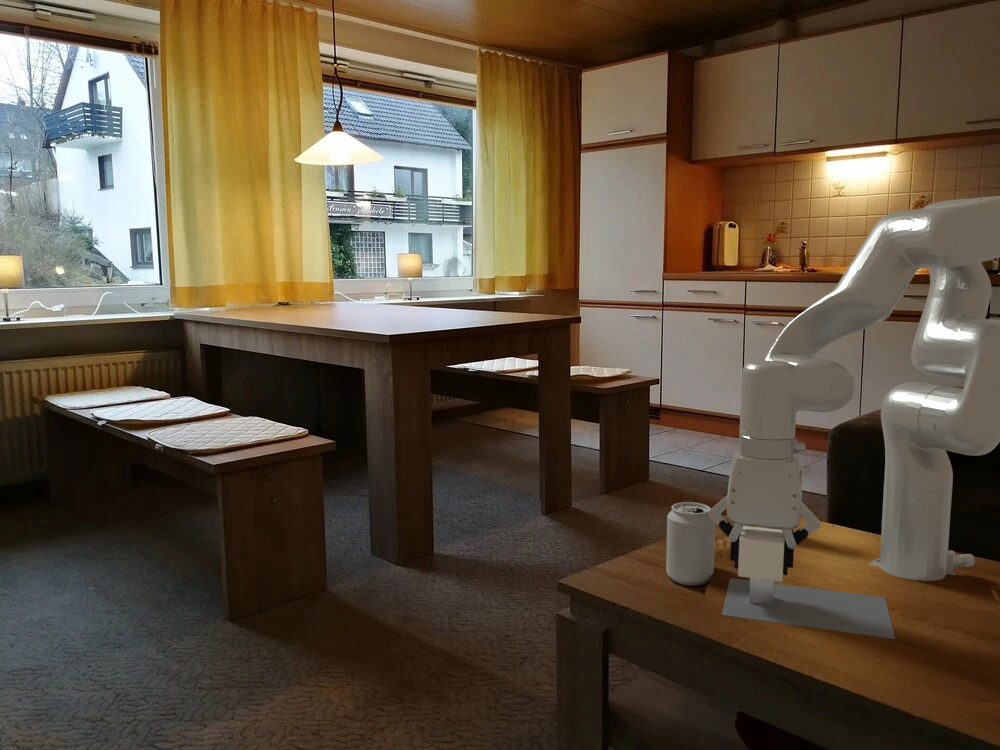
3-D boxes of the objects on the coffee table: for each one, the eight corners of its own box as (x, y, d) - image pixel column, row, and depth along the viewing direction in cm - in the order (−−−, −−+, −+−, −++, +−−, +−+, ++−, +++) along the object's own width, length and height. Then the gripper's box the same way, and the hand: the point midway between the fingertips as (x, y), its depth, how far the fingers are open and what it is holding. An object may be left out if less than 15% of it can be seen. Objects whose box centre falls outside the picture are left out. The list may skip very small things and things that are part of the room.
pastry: (697, 565, 134) (697, 543, 134) (695, 551, 141) (695, 530, 140) (754, 568, 132) (755, 546, 132) (749, 554, 139) (750, 533, 138)
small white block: (773, 597, 117) (774, 571, 116) (772, 605, 114) (773, 579, 113) (750, 594, 118) (751, 568, 117) (749, 602, 115) (750, 576, 114)
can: (715, 589, 124) (717, 515, 122) (666, 585, 125) (667, 512, 123) (712, 571, 131) (714, 501, 129) (666, 568, 132) (667, 498, 131)
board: (884, 606, 116) (885, 597, 116) (894, 649, 103) (895, 638, 103) (729, 587, 124) (729, 578, 124) (721, 624, 111) (721, 614, 111)
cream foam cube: (783, 566, 117) (784, 530, 116) (782, 581, 111) (784, 543, 110) (740, 561, 119) (742, 525, 118) (737, 576, 113) (739, 538, 112)
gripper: (830, 446, 113) (824, 567, 115) (707, 437, 119) (703, 552, 121) (832, 458, 106) (825, 586, 108) (701, 448, 112) (697, 569, 114)
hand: (761, 567), depth 115 cm, fingers closed on cream foam cube, 5 cm apart
